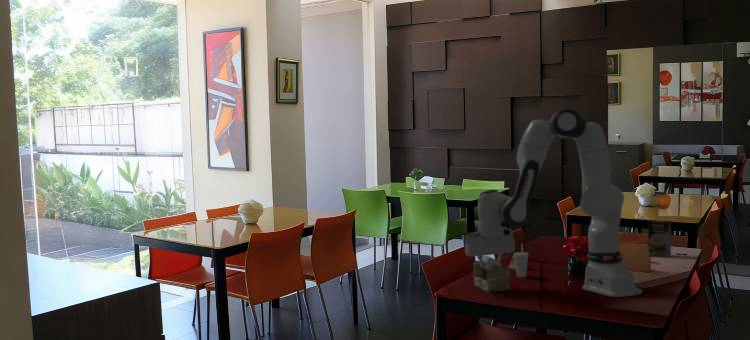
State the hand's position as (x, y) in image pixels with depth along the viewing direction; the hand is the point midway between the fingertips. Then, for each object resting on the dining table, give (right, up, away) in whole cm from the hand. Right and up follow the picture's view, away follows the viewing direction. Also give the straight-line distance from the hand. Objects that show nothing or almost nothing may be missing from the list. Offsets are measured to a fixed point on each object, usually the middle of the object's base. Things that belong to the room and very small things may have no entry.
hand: (490, 265), depth 260 cm
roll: (0, +1, 0) cm, 1 cm away
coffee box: (+86, -2, +43) cm, 96 cm away
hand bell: (+18, -6, +32) cm, 37 cm away
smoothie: (+16, -7, +16) cm, 24 cm away
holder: (+1, -9, 0) cm, 9 cm away
